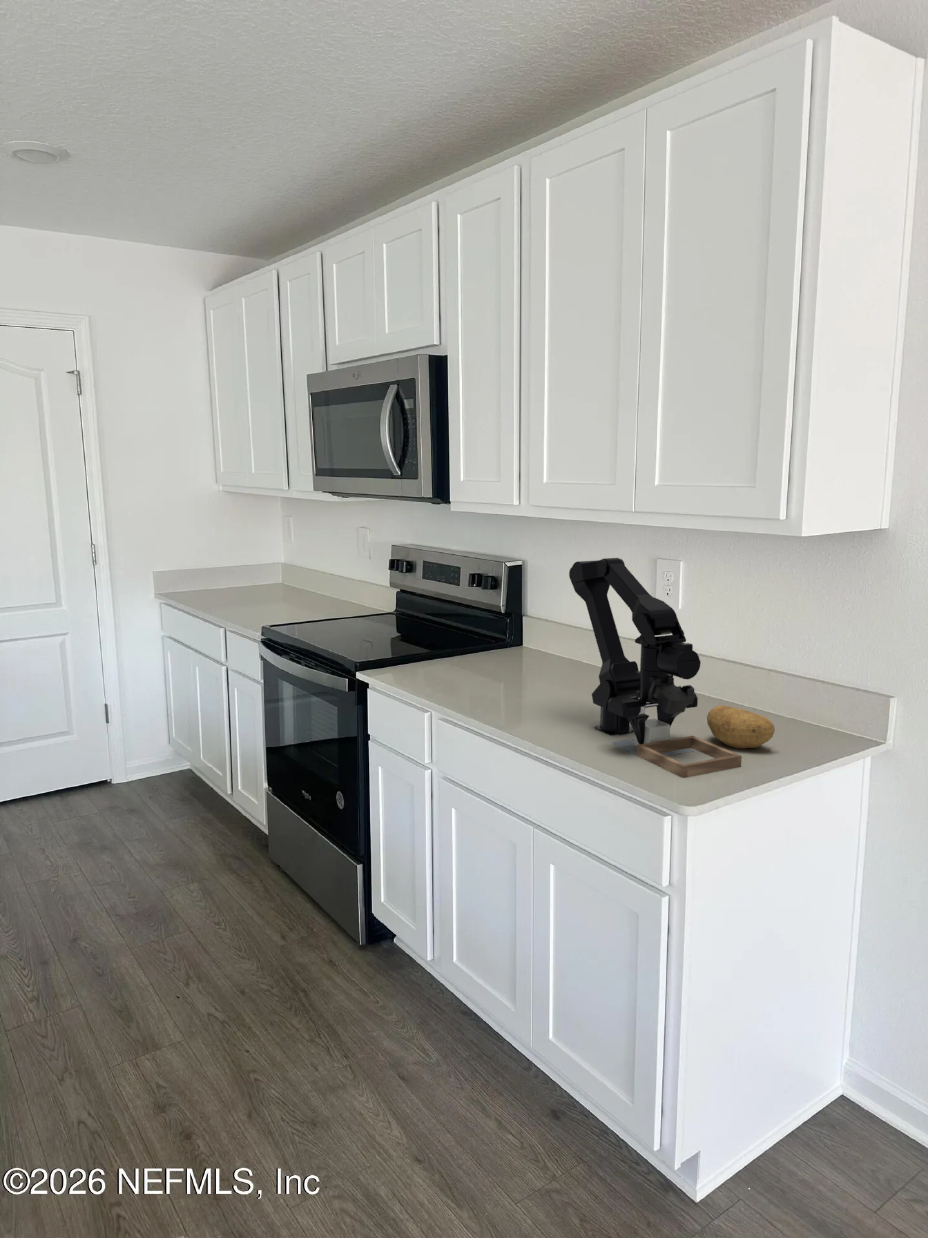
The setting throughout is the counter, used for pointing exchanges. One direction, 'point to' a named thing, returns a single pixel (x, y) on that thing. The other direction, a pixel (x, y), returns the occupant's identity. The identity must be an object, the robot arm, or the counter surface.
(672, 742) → the bin
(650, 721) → the white cube
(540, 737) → the counter surface
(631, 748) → the mat
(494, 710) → the counter surface
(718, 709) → the potato
